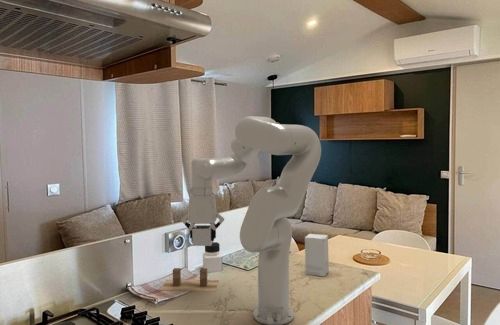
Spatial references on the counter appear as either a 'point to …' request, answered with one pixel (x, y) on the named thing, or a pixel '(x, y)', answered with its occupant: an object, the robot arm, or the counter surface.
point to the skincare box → (316, 254)
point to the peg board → (190, 282)
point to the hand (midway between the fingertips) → (203, 239)
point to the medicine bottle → (212, 258)
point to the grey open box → (202, 235)
